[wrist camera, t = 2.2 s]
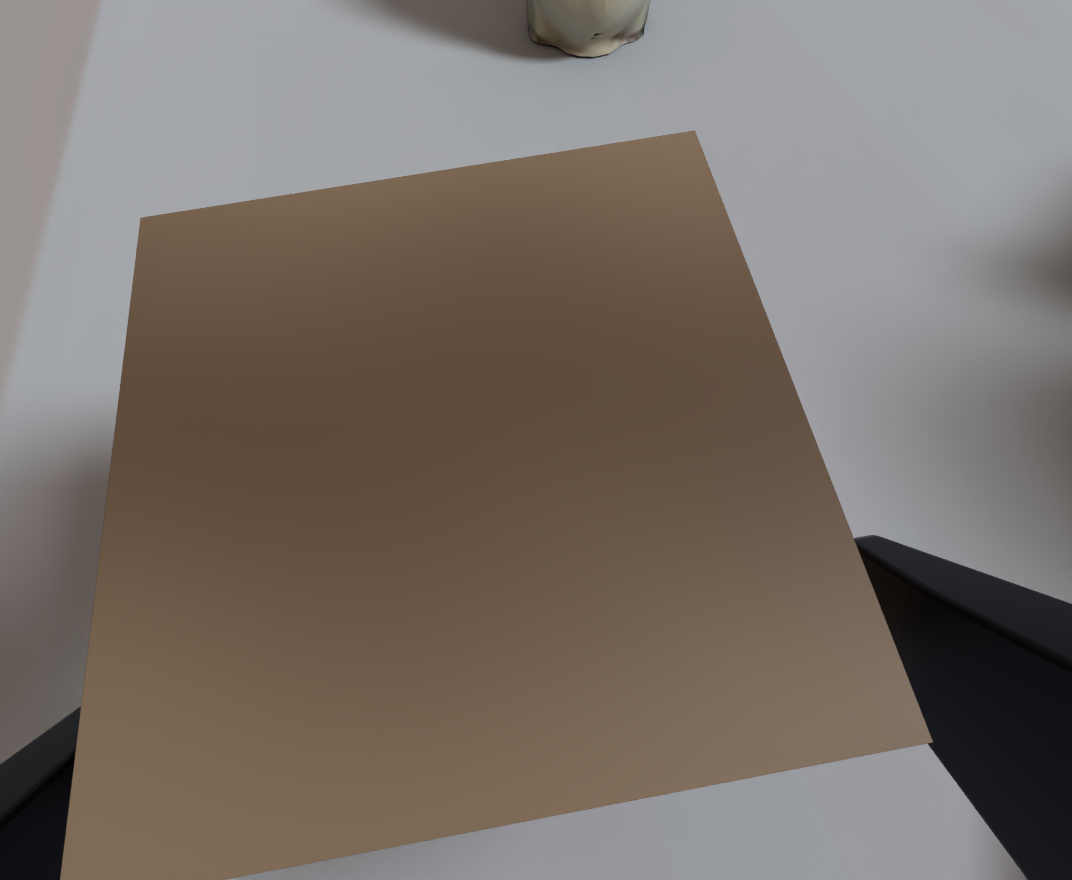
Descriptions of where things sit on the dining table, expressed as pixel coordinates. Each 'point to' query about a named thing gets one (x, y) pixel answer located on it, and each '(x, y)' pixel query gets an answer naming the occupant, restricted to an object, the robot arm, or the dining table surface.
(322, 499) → the walnut block
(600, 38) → the grey-green rounded block
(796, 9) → the dining table surface
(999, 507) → the dining table surface
